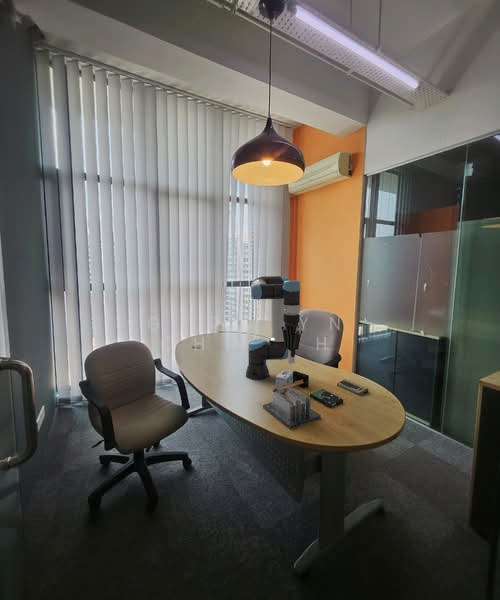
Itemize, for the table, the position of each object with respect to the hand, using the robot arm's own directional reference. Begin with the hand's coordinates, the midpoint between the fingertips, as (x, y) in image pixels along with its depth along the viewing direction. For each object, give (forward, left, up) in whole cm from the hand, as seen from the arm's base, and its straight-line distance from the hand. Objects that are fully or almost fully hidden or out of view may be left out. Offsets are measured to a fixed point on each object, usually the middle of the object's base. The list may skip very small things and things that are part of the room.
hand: (291, 362), depth 131 cm
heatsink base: (0, 0, -25) cm, 25 cm away
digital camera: (-23, +24, -25) cm, 42 cm away
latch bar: (-1, 0, -13) cm, 13 cm away
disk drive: (-1, +24, -26) cm, 35 cm away
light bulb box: (-20, +11, -25) cm, 34 cm away
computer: (-3, +47, -26) cm, 54 cm away
